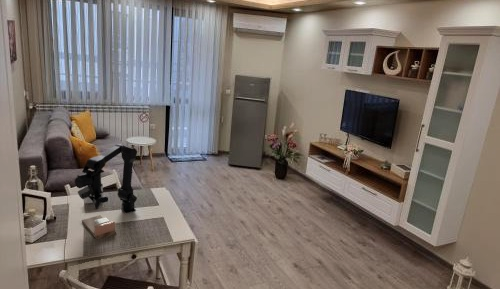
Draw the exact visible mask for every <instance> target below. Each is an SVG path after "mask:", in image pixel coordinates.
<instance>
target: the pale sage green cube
mask: <svg viewBox="0 0 500 289" xmlns="http://www.w3.org/2000/svg"><path fill="white" fill-rule="evenodd" d="M107 222H111V221H110V220H109V219H108V218H107V217H102V218H101V219H97V220H94V223H95V226H97V225H100V224H104V223H107Z"/></svg>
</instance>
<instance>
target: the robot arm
mask: <svg viewBox="0 0 500 289" xmlns="http://www.w3.org/2000/svg"><path fill="white" fill-rule="evenodd" d="M120 154H121V158H122V161H123V169H122V170H123V171H122V180H121V181H122V183H121V186H120V187H119V188H118V189H117V197H118V198H119V200H120V201H121V210H122V212H124V213H126V214H127V213H131V212H134V211H136V210H137V209H136V208H135V203H136V202H137V200H138V197H137V196H136V195H135V194H134V189H133V186H132V176H133V167H134V166H133V165H134V162H135V161H136V159H137V154H138V150H137V149H136V148H135V147H131V146H127V145H124V144H120V143H116V144H115V145H114V146H112V147H111V148H110V149H108V150H107V151H104V152H103V153H101V154H100V155H96V156H92V157H91V158H89V159H88V160H86V163H85V165H84V167H83V169H82V171H81V172H82V173H81V174H77V176H76V178H75V179H74V184H75V186H76V188H78V189H80V190H78V191H77V194H78V196H79V197H80V199H82V200H84V199H85V198H87V197H89V198H90V199H91V200H92V202H93V203H92V205H93V207H94V209H95V210H98V209H99V207H100V205H101V204H104V203H108V202H109V197H108V196H107V195H105V194H104V190H103V191H102V190H101V186H103V183H102V173H104V172H105V171H104V170H103V168H104V167H105V166H106V163H108V162H110V160H112V159H114V158H115V157H116V156H118V155H120ZM85 186H87V187H85ZM101 193H103V195H102V194H101Z"/></svg>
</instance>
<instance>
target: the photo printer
mask: <svg viewBox="0 0 500 289" xmlns="http://www.w3.org/2000/svg"><path fill="white" fill-rule="evenodd" d="M85 187H87V186H85ZM85 187H84V188H85ZM101 190H102V191H103V193H101V194H102V195H103V194H104V187H103V186H101ZM85 204H93V202H92V200H91V199H90V198H89V197H87V198H85Z"/></svg>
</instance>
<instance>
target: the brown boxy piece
mask: <svg viewBox="0 0 500 289" xmlns="http://www.w3.org/2000/svg"><path fill="white" fill-rule="evenodd" d="M101 218H103V217H102V216H101V214H100V215H96V216H92V217H89V218H84V219H82V220H81V223H82V224H83V226H84V227H85V226H86V227H87V228H86V227H85V228H86V229H87V230H88V231H89V233H91V235H93V237H94V238H95V239H96V240H102V239H106V238H107V237H111V236H114V235H117V230H116V222H115V220H111V221H110V222H107V223H104V224H100V225H97V226H95V223H94V220H97V219H101Z"/></svg>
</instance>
